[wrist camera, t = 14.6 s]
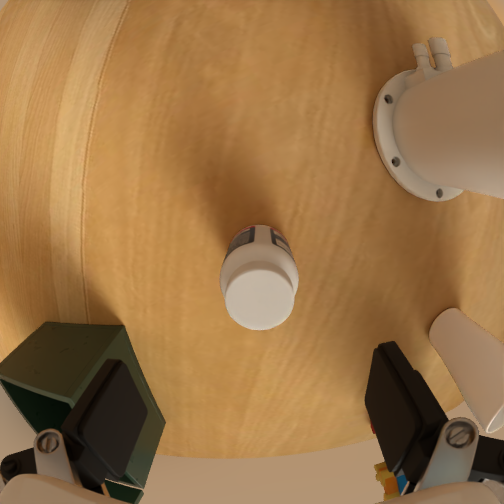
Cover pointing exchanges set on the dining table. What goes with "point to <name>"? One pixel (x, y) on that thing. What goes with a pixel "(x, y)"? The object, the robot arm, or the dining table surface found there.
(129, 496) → the lid
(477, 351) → the drinking glass
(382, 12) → the dining table surface
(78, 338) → the box
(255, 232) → the pill bottle
